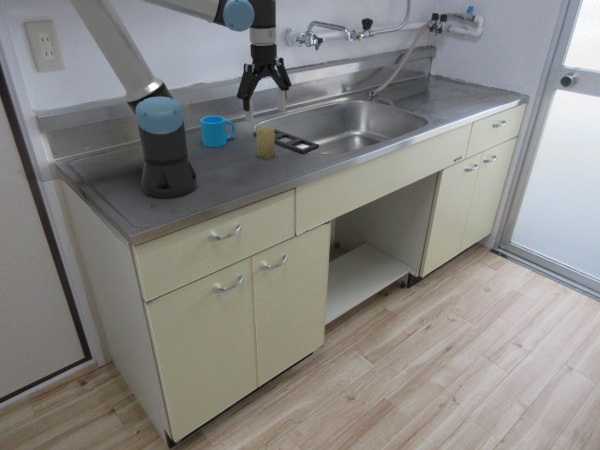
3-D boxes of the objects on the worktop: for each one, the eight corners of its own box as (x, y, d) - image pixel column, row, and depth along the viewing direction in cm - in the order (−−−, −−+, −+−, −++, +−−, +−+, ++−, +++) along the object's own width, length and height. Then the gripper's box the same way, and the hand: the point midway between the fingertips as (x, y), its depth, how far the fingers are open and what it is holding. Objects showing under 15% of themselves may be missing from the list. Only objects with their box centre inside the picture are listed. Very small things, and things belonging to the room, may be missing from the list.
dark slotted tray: (303, 154, 149) (303, 151, 148) (253, 135, 163) (253, 132, 162) (319, 147, 154) (319, 144, 153) (269, 130, 168) (269, 127, 167)
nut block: (265, 158, 146) (265, 131, 141) (257, 155, 148) (256, 128, 143) (274, 155, 148) (274, 128, 143) (266, 152, 150) (265, 125, 146)
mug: (208, 149, 152) (206, 125, 148) (198, 141, 158) (196, 118, 153) (240, 142, 158) (239, 119, 153) (230, 135, 163) (228, 112, 159)
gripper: (238, 51, 120) (243, 128, 131) (302, 39, 136) (302, 109, 147) (220, 47, 124) (226, 122, 136) (284, 35, 140) (285, 104, 151)
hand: (266, 115), depth 141 cm, fingers open, 13 cm apart
